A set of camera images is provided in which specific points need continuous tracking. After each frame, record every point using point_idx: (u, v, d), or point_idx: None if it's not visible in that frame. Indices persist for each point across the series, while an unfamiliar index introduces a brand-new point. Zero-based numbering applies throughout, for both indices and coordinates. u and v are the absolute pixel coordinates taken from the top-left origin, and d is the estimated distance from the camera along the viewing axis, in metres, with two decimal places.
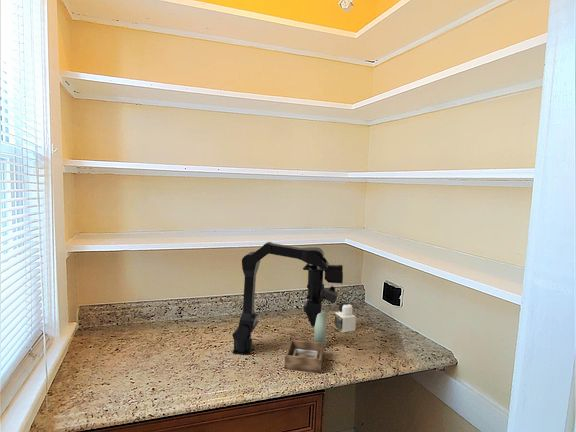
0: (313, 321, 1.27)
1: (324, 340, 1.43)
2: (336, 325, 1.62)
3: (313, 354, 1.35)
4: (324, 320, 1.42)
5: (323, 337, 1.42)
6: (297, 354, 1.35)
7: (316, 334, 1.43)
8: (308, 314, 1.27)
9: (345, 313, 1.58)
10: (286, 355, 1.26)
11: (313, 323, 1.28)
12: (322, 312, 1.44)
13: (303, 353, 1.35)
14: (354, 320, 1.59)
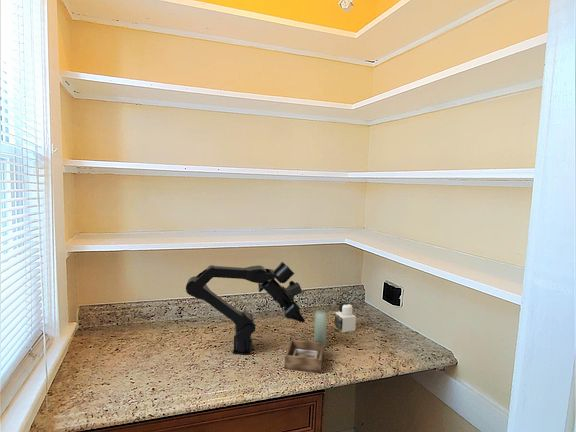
0: (301, 318, 1.36)
1: (324, 340, 1.43)
2: (336, 325, 1.62)
3: (313, 354, 1.35)
4: (324, 320, 1.42)
5: (323, 337, 1.42)
6: (297, 354, 1.35)
7: (316, 334, 1.43)
8: (293, 317, 1.35)
9: (345, 313, 1.58)
10: (286, 355, 1.26)
11: (302, 320, 1.37)
12: (322, 312, 1.44)
13: (303, 353, 1.35)
14: (354, 320, 1.59)
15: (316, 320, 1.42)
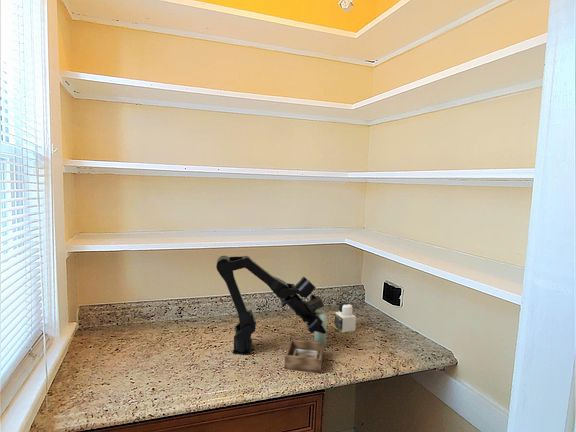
0: (322, 329, 1.41)
1: (324, 340, 1.43)
2: (336, 325, 1.62)
3: (313, 354, 1.35)
4: (324, 320, 1.42)
5: (323, 337, 1.42)
6: (297, 354, 1.35)
7: (316, 334, 1.43)
8: (315, 329, 1.39)
9: (345, 313, 1.58)
10: (286, 355, 1.26)
11: (323, 331, 1.41)
12: (322, 312, 1.44)
13: (303, 353, 1.35)
14: (354, 320, 1.59)
15: None
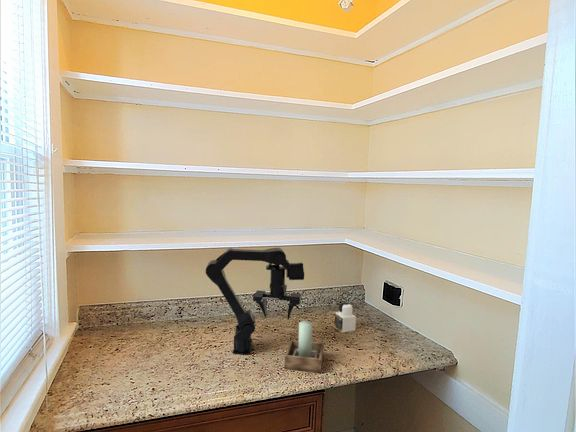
0: None
1: (306, 354, 1.29)
2: (336, 325, 1.62)
3: (313, 354, 1.35)
4: (306, 332, 1.28)
5: (305, 351, 1.29)
6: (297, 354, 1.35)
7: (298, 346, 1.30)
8: (292, 308, 1.37)
9: (345, 313, 1.58)
10: (286, 355, 1.26)
11: (289, 316, 1.39)
12: (308, 323, 1.30)
13: None
14: (354, 320, 1.59)
15: (299, 330, 1.30)
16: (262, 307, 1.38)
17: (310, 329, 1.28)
